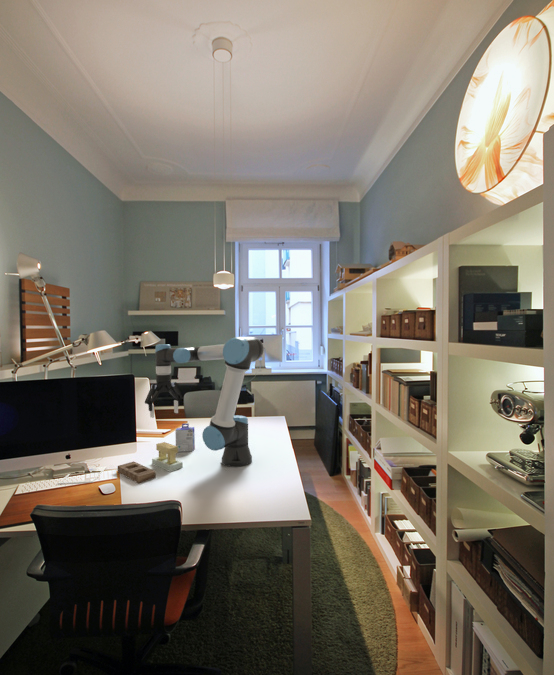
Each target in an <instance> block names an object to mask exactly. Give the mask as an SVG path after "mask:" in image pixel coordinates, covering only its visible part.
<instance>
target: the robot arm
mask: <svg viewBox="0 0 554 675" xmlns="http://www.w3.org/2000/svg"><path fill="white" fill-rule="evenodd" d="M264 350H265V349H264V344H263V342H262V341H261V339H259V338H257V337H254V336H236V337H233V338H232V337H231V338H230V339H228V340H226V342H225V343H224V344H222V343H221V344H215V345H214V344H212V345H205V346H204V345H202V346H193V347H192V346H191V347H172V346H171V344H166V343H165V344H162V343H161V344H156V345H155V351H154V353H155V374H156V375H155V381H156V382H155V384H150V386H149V390H148V393H147V396H146V397H145V401H144V404H146V405H147V406H148V411H149V416H150V418H152V419H154V418H155V405H154V403H155V401H156V400H157V398H158V396H160V394H161V393H169V394H170V395H171V396H172V398H173V399H174V400H173V410H174V411H173V412H174V413H175V414H179V407H180V401H181V400H182V399H183V395H182V393H181V391H180V389H179V388H178V383H177V382H176V381H173V382H172V364H173V363H174V364H185V363H191V362H201V361H202V362H204V361H214V360H215V361H216V360H217V361H218V360H224V365H225V367H226V370H225V374H224V378H223V383H222V385H221V389H220V390H221V391H220V395H219V398H218V402H217V407H216V410H215V414H214V415H212V416H211V417H210V421H209V424H208V425H207V426H206V427H205V428H203V431H202V441H203V443H204V445H205V446H206V448H208V449H209V450H211V451H213V452H214V451H219V450H223V449H224V450H223V454H222V457H221V464H222V465H224V466H226V467H233V468H234V467H243V466H244V467H245V466H247V465H249V464H251V463H252V461H253V457H252V453H251V450H250V447H249V420H248V417H247V416H245V415H238V414H237V415H235V413H236V409H237V405H238V401H239V398H240V393H241V389H242V387H243V383H244V378H245V374H246V372H247V371H249V370H250V367H251V364H252V363H253V362H255V361H258V360H259V359H261V357H262V356H263V354H264ZM174 413H173V414H174Z"/></svg>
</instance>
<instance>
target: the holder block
mask: <svg viewBox="0 0 554 675" xmlns="http://www.w3.org/2000/svg"><path fill="white" fill-rule="evenodd" d="M151 464H152V465H153V466H156V467H158V468H160V469H163V470H165V471H168V472H172V471H176V470H179V469H182V468H183V461H180V460H178V459H176V463H174V464H170V465H169V464H168V463H167V459H166V460H162V461H159V456H158V457H153V458H152V459H151Z"/></svg>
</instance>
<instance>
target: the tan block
mask: <svg viewBox="0 0 554 675" xmlns="http://www.w3.org/2000/svg"><path fill="white" fill-rule="evenodd" d="M156 451H158V457H159V461H162V460H166V459H167V463H168V464H169V465H170V464H174V463H176V460H177V459H176V457H177V456H176V454H178V453H179V452H178V447H177V446H176V445H174V444H172V443H171V444H170V443H168V442H166V441H164V442H163V441H162V442H160V443H156Z"/></svg>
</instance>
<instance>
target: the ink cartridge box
mask: <svg viewBox="0 0 554 675" xmlns="http://www.w3.org/2000/svg"><path fill="white" fill-rule="evenodd" d="M181 424H182V425H181V427H177V428H176V429H175V432H174V433H175V446H177V447H178V453H180V452H194V450H195V449H196V447H195V446H196V445H195V440H196V439H195V438H196V437H195V435H196V434H195V426H191V427H190V426H189V425H190V424H189V423H181Z"/></svg>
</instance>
